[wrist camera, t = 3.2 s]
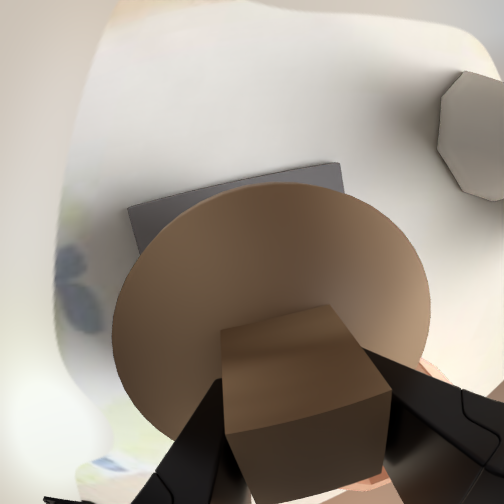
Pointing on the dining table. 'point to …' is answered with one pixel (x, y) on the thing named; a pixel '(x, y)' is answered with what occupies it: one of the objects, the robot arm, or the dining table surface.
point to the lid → (276, 330)
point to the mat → (167, 209)
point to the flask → (474, 134)
